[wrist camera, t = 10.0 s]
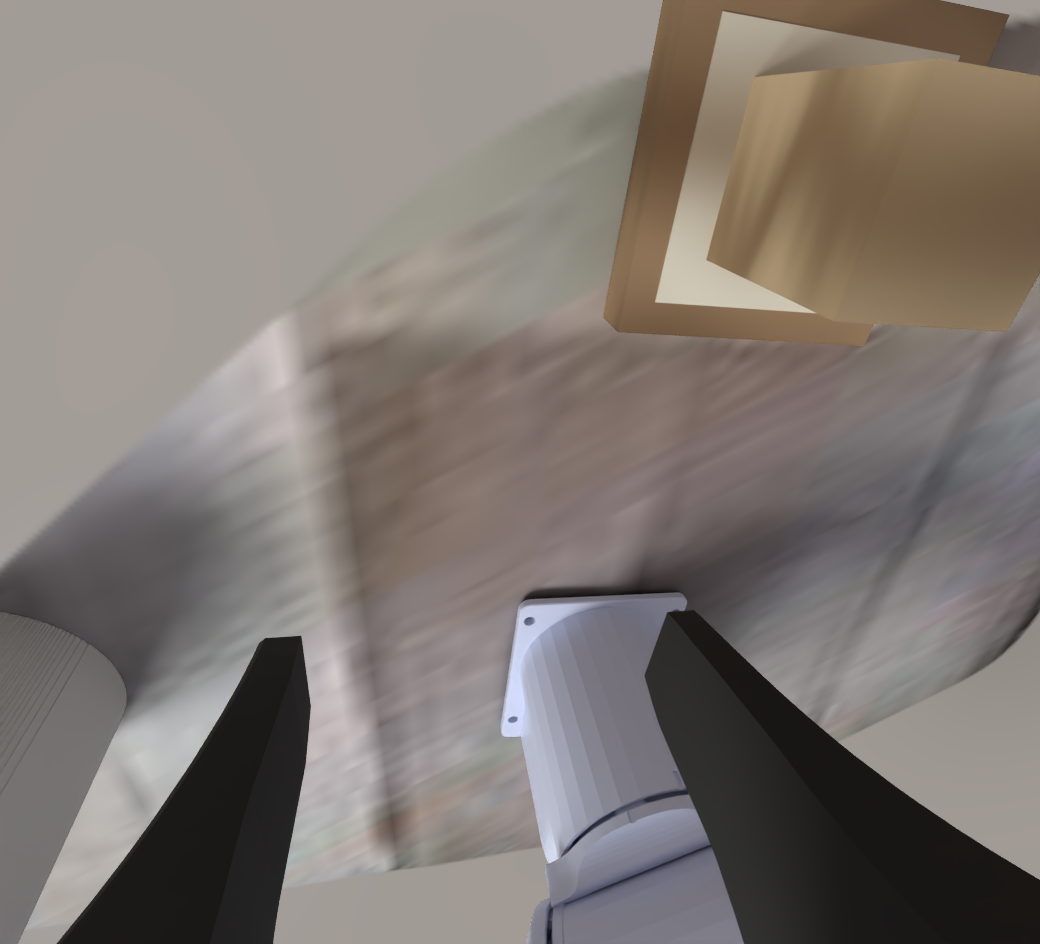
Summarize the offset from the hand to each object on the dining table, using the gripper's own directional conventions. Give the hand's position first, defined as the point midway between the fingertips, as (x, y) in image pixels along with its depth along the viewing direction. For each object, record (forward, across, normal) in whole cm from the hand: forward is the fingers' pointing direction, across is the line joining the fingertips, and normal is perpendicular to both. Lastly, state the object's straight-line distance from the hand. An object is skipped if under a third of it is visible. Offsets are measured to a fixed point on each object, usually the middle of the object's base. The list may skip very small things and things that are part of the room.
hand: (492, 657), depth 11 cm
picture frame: (+10, -10, -8) cm, 16 cm away
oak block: (+9, -10, -8) cm, 15 cm away
